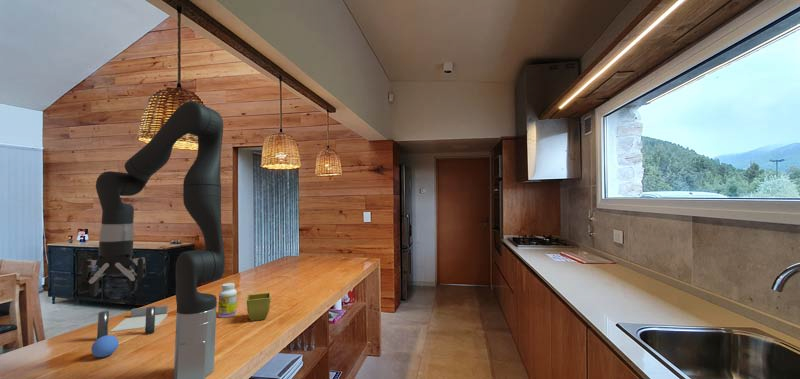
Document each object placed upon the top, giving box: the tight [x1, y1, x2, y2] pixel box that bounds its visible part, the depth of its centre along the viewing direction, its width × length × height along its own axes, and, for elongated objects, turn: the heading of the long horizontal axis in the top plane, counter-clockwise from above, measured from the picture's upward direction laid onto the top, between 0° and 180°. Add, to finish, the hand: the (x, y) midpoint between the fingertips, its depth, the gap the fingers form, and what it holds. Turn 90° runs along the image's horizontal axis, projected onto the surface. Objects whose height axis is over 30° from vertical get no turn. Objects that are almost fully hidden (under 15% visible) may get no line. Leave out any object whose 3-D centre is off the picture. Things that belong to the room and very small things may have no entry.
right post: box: [144, 305, 156, 336], centre depth 111 cm, size 3×3×9 cm
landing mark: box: [109, 313, 169, 333], centre depth 121 cm, size 14×14×1 cm
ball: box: [90, 334, 119, 358], centre depth 94 cm, size 6×6×6 cm
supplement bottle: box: [217, 282, 238, 318], centre depth 130 cm, size 7×7×13 cm
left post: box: [96, 310, 110, 340], centre depth 106 cm, size 3×3×9 cm
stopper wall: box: [130, 305, 169, 318], centre depth 130 cm, size 2×12×3 cm, turn 113°
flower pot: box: [246, 292, 272, 322], centre depth 126 cm, size 9×9×9 cm
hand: (113, 294), depth 91 cm, fingers open, 8 cm apart
